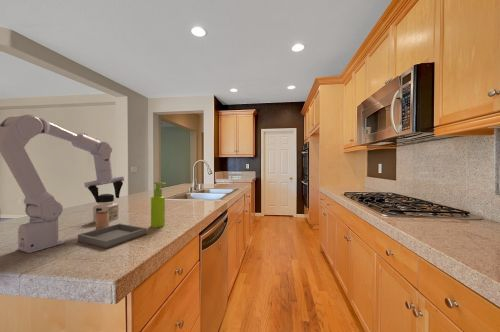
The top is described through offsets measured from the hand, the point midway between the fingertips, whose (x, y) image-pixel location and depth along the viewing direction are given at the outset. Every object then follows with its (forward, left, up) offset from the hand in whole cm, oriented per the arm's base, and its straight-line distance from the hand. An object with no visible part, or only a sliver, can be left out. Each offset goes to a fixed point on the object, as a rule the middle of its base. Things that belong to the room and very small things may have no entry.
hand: (108, 199), depth 95 cm
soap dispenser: (+12, -18, -13) cm, 25 cm away
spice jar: (-2, 0, -12) cm, 12 cm away
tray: (-7, -15, -12) cm, 21 cm away
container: (+8, +13, -13) cm, 20 cm away
